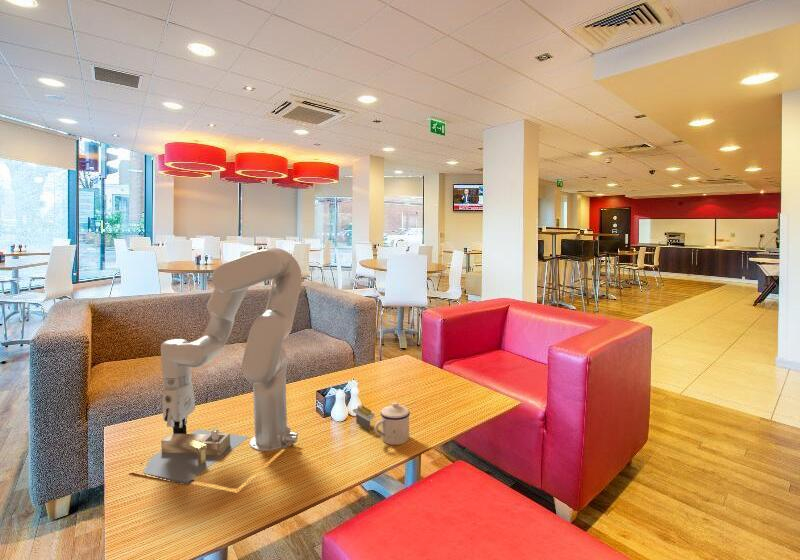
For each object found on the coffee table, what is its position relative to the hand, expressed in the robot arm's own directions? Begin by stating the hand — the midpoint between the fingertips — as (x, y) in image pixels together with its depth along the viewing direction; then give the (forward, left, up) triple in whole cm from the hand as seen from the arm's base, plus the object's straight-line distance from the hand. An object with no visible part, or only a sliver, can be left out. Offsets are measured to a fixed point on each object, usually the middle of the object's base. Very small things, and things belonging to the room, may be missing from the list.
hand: (180, 438), depth 127 cm
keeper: (-13, +8, -1) cm, 15 cm away
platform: (-50, -27, -3) cm, 57 cm away
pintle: (-14, +1, -2) cm, 14 cm away
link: (-8, +3, -1) cm, 9 cm away
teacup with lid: (-62, -20, -2) cm, 65 cm away
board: (-9, +4, -2) cm, 10 cm away
